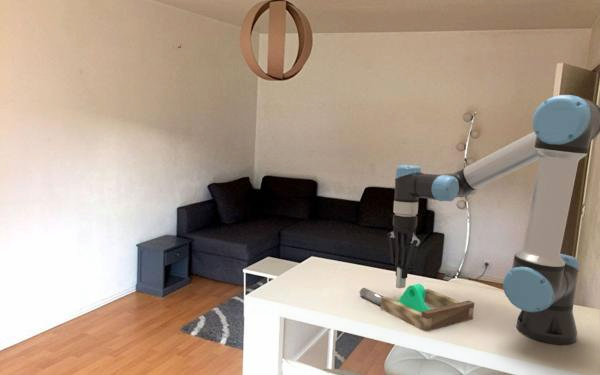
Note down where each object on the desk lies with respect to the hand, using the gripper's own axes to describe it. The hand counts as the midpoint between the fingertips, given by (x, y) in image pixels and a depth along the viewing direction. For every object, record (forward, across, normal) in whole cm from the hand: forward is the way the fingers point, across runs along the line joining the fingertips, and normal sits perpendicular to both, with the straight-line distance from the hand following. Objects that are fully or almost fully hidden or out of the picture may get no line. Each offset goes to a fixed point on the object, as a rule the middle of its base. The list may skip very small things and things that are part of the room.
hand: (400, 287), depth 153 cm
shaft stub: (+2, +4, +9) cm, 10 cm away
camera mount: (+5, -12, +4) cm, 14 cm away
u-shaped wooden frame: (+5, -11, 0) cm, 12 cm away
